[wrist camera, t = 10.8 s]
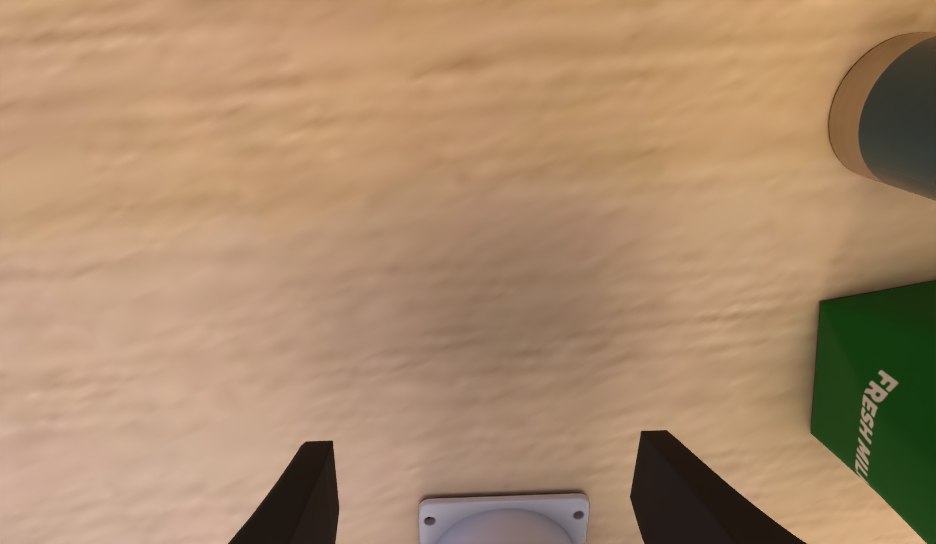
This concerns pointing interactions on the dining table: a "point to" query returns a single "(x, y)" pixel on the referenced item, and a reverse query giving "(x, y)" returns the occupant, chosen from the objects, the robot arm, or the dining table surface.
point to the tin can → (890, 115)
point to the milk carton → (882, 395)
